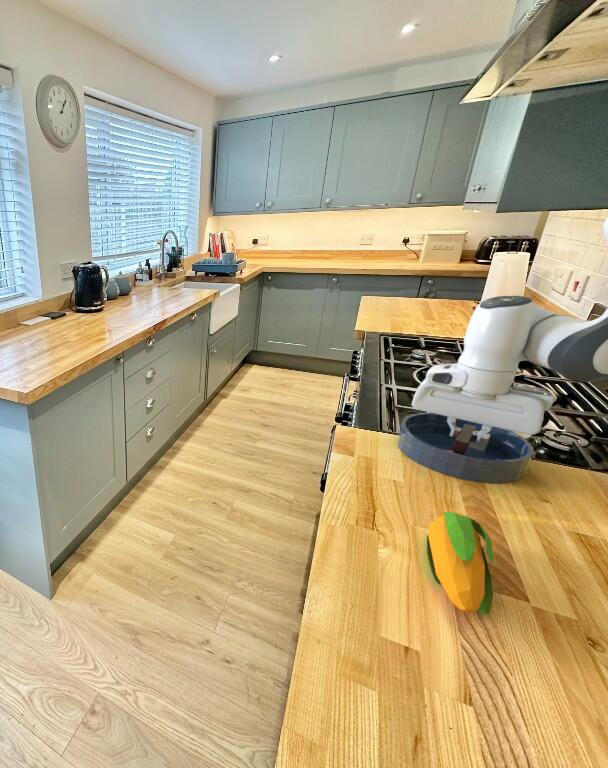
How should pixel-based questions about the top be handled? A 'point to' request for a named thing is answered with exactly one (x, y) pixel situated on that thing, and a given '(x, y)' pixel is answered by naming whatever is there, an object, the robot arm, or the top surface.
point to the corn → (461, 561)
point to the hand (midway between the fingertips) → (464, 438)
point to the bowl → (493, 465)
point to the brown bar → (463, 439)
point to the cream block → (481, 442)
